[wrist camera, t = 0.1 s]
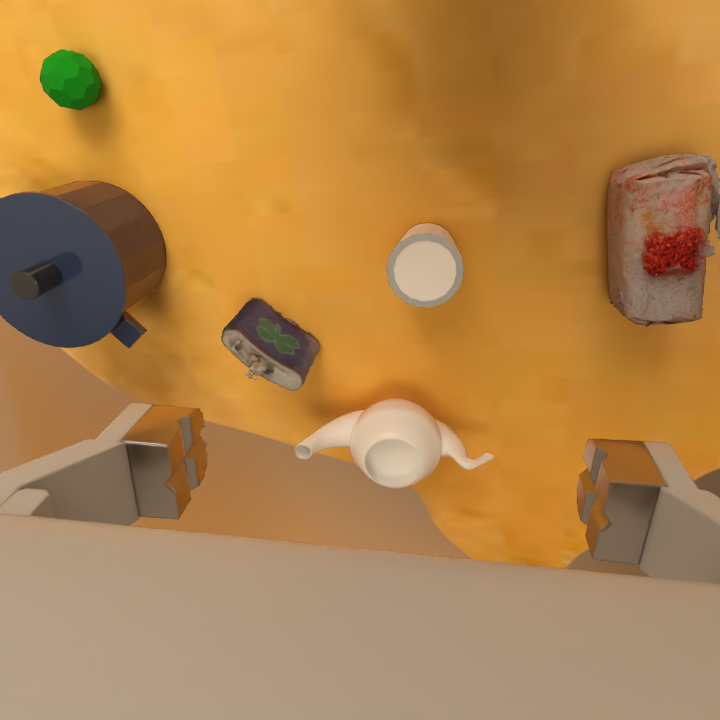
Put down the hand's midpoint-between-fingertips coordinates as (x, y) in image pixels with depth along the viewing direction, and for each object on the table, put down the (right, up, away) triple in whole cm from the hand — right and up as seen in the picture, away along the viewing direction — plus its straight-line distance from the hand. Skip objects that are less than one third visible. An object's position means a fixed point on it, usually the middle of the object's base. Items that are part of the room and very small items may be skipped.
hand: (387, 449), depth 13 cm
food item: (+26, +14, +43) cm, 52 cm away
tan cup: (+6, +13, +47) cm, 49 cm away
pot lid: (-29, +10, +42) cm, 52 cm away
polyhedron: (-27, +28, +44) cm, 59 cm away
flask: (-9, +6, +52) cm, 53 cm away
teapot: (+4, -4, +55) cm, 55 cm away
